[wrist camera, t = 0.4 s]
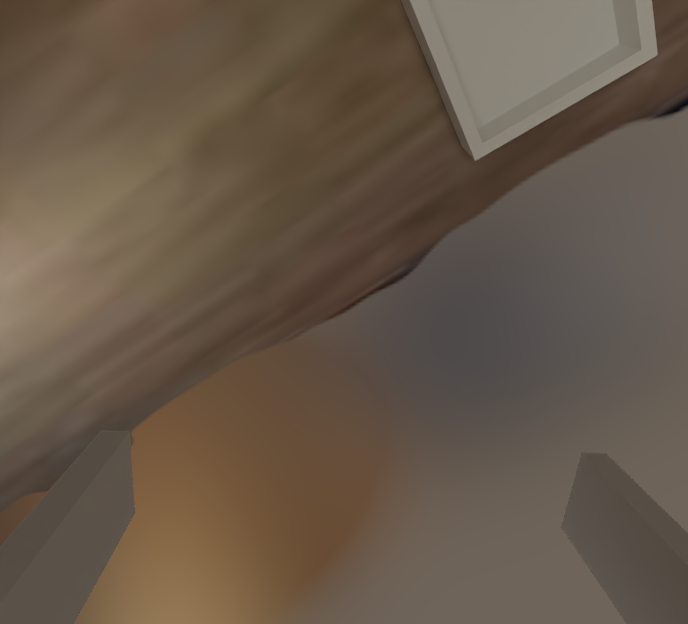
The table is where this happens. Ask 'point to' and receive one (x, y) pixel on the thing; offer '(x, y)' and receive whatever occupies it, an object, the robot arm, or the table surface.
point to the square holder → (525, 58)
